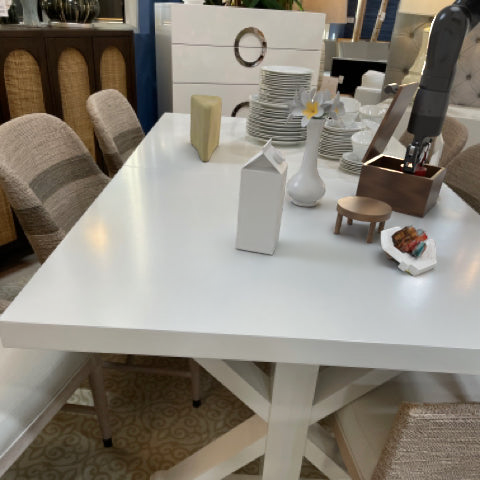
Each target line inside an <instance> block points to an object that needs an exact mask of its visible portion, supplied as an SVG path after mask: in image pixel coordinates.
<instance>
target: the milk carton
mask: <svg viewBox="0 0 480 480" xmlns="http://www.w3.org/2000/svg"><path fill="white" fill-rule="evenodd" d="M272 140H273V138H269V140H268V141H267V142H266V143H265V144H264V145H263V146H262V150H261V151H259V152H258V153H256V154H255V155H253V156H252V157H251V158H249V159H248V161H246V163H245V164H244V165H243V166H242V167H241V168H240V179H239V193H238V207H237V222H236V236H235V249H236V250H242V251H248V252H253V253H254V252H255V253H260V254H266V255H271V256H272V255H273V254H274V252H275V249H276V248H277V245H278V243H279V239H280V233H281V225H282V223H281V222H282V216H283V210H284V209H283V208H284V199H285V193H286V185H287V177H288V168H289V164H288V162H287V161H286V156H285V154H284V153H283V152H281V150H279V149H276V148H275V147H274V145H272Z"/></svg>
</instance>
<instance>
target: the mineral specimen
mask: <svg viewBox="0 0 480 480" xmlns="http://www.w3.org/2000/svg"><path fill="white" fill-rule="evenodd" d="M380 245H381V249H382V250H383V253H384V254H385V256H386V258H387V259H388V260H391V259H392V260H393V262H394V263H396V261H397V262H398V263H399V265H397V267H398V269H400V270H401V271H402V272H408V273H409V274H411V275H412V276H413V277H416V276H418V275H421V274H423V273H425V272H428V271H430V270H433V269H434V268H435V266H436V265H437V264H438V261H437V260H438V259H437V249H436V241H435V240H434V239H432V238H431V237H430V238H429V237H428V234H427V232H426V230H424V229H423V228H418V229H416V227H414V225H413V224H411V225H405V226H404V227H402V228H401V226H399V225H396V226H392V227H390V228H387V229H384V230H383V231H381V233H380Z"/></svg>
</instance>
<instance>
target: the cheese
mask: <svg viewBox="0 0 480 480" xmlns="http://www.w3.org/2000/svg"><path fill="white" fill-rule="evenodd" d="M222 104H223V101H222V97H221V96H218V95H210V94H208V95H207V94H192V95H191V96H190V122H189V123H190V126H189V128H190V129H189V139H190V140H189V141H190V144H191V145H192V147H194V148H195V149H196V151H197V154H198V156H199V158H200V160H201V162H206V163H207V162H209V161H210V158H211V156H212V155H213V152H214V151H215V149H216V148H217V146H219V145H220V138H221V137H220V136H221V126H222V125H221V124H222Z"/></svg>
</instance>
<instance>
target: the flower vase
mask: <svg viewBox="0 0 480 480" xmlns="http://www.w3.org/2000/svg"><path fill="white" fill-rule="evenodd" d="M316 92H317V87H314V88H311V90H309V92H307V89H306V87H304V86H301V87H300V88H299V89H298V90H297V88H295V92H294V96H293V100H291V101H290V102H288V103H287V107H286V108H289V110H288V112H289V113H288V115H287V118H286V122H285V124H284V126H287V125H288V124H289V123H290V121H291V120H293V119H294V118H296V117H302V118H301V121H300V126H301V127H302V128H305V127H306V140H305V147H304V150H303V151H304V152H303V157H302V161H301V163H300V167H299V168H298V170H297V172H296V173H295V174H294V175H292V176H291V177H290V178H289V179H288V181H287V182H286V185H285V192H286V194H287V195H288V196H289V197H290V201H291V203H292V204H294V205H295V206H299V207H305V208H310V207H315V206H316V205H317V203H318V201H319V200H321V199H322V198H323V197H324V196H325V194H326V190H327V189H326V184H325V182H324V180H323V179H322V177H321V176H320V174H319V169H318V158H319V157H318V156H319V149H320V148H319V146H320V141H321V136H322V132H323V129H324V127H325V125H326V122H327V117H329V118H331V119H333V120H334V121H337V122H338V123H339V125H340V126H341V127H342V128H343V129H346V125H345V122H344V119H343V118H342V117H343V116H344V115H345V114H346V108H345V107H344V106H345V103H344V102H343V101H341V95H340V91H339V90H337V92H336V95H334V96H333V99H332V93H331V91H330V89H327V88H326V89H325V90H324V91H322V90H320V91H318V92H317V93H316Z"/></svg>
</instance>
